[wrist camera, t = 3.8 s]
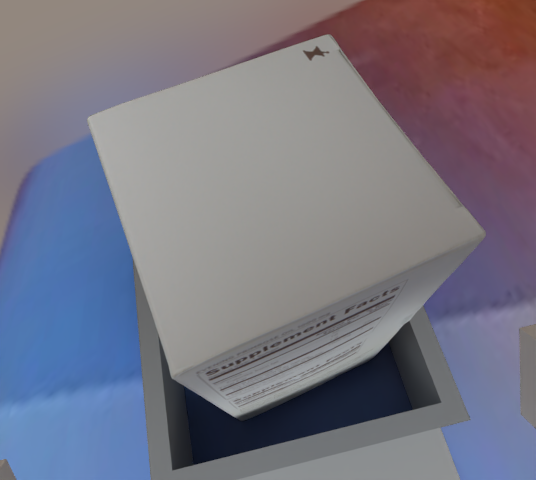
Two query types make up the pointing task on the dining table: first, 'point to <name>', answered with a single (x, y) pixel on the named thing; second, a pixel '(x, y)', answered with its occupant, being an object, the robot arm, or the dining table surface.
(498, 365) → the dining table surface
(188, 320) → the supplement box
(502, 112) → the dining table surface
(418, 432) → the grey open box
